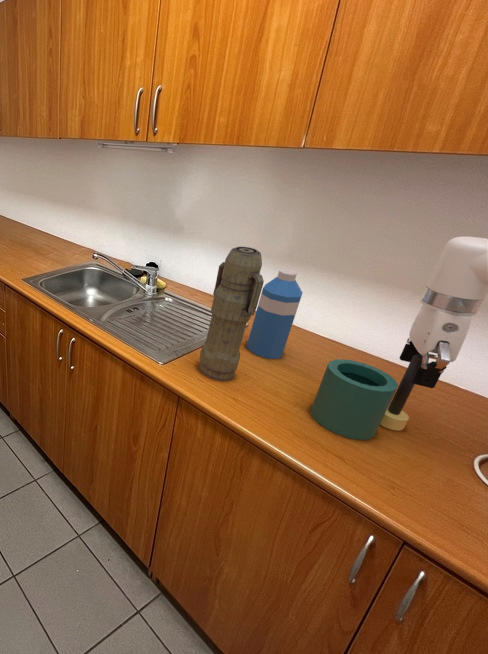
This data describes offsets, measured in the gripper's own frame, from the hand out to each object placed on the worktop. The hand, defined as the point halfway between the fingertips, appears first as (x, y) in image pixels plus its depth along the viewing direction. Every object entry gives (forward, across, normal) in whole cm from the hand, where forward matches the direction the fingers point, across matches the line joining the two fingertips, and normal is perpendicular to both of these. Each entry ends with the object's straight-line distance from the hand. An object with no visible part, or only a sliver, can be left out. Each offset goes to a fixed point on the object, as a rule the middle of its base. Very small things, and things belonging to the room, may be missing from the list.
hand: (415, 372), depth 83 cm
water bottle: (+14, +20, +24) cm, 34 cm away
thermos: (+14, +1, +35) cm, 38 cm away
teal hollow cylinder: (+14, -5, +9) cm, 17 cm away
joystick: (+14, 0, 0) cm, 14 cm away
